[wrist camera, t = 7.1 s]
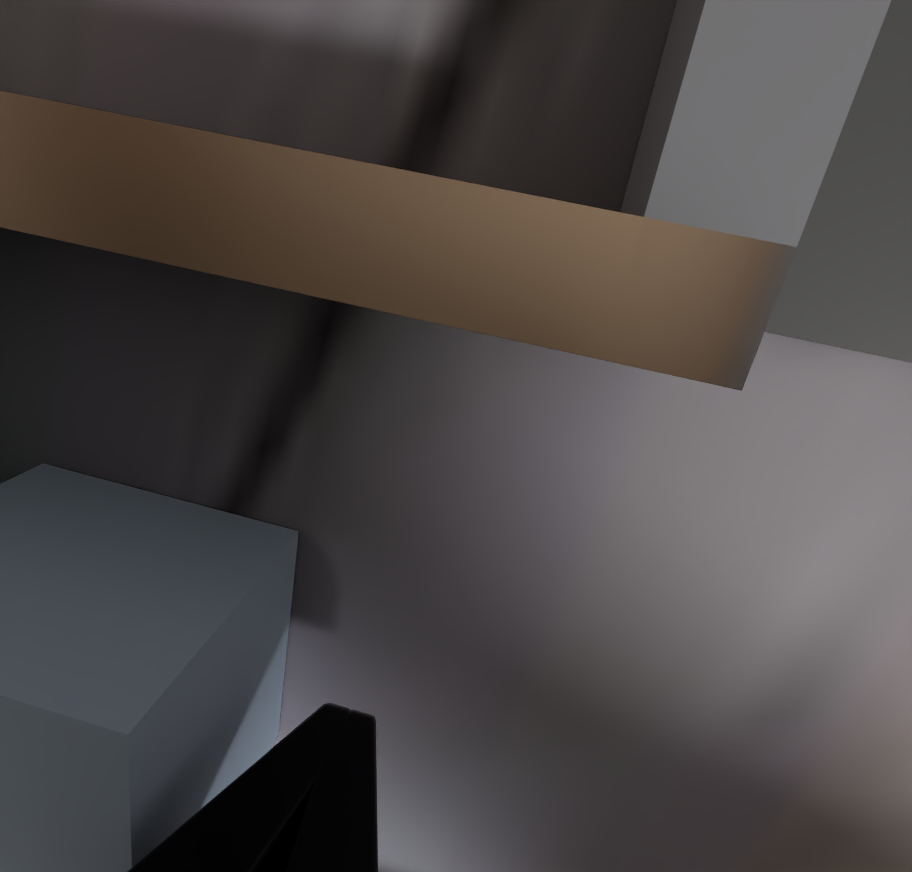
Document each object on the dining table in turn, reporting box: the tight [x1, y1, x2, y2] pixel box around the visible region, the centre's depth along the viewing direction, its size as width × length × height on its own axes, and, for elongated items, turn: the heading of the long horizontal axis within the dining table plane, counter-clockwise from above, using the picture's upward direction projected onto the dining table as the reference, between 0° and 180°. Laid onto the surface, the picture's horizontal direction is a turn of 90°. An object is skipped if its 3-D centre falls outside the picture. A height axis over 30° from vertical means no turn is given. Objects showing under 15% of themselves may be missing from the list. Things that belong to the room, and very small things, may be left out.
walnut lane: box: [0, 91, 797, 390], centre depth 9 cm, size 19×15×2 cm
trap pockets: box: [620, 0, 912, 391], centre depth 9 cm, size 16×27×2 cm, turn 170°
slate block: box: [0, 464, 299, 872], centre depth 9 cm, size 4×4×4 cm
